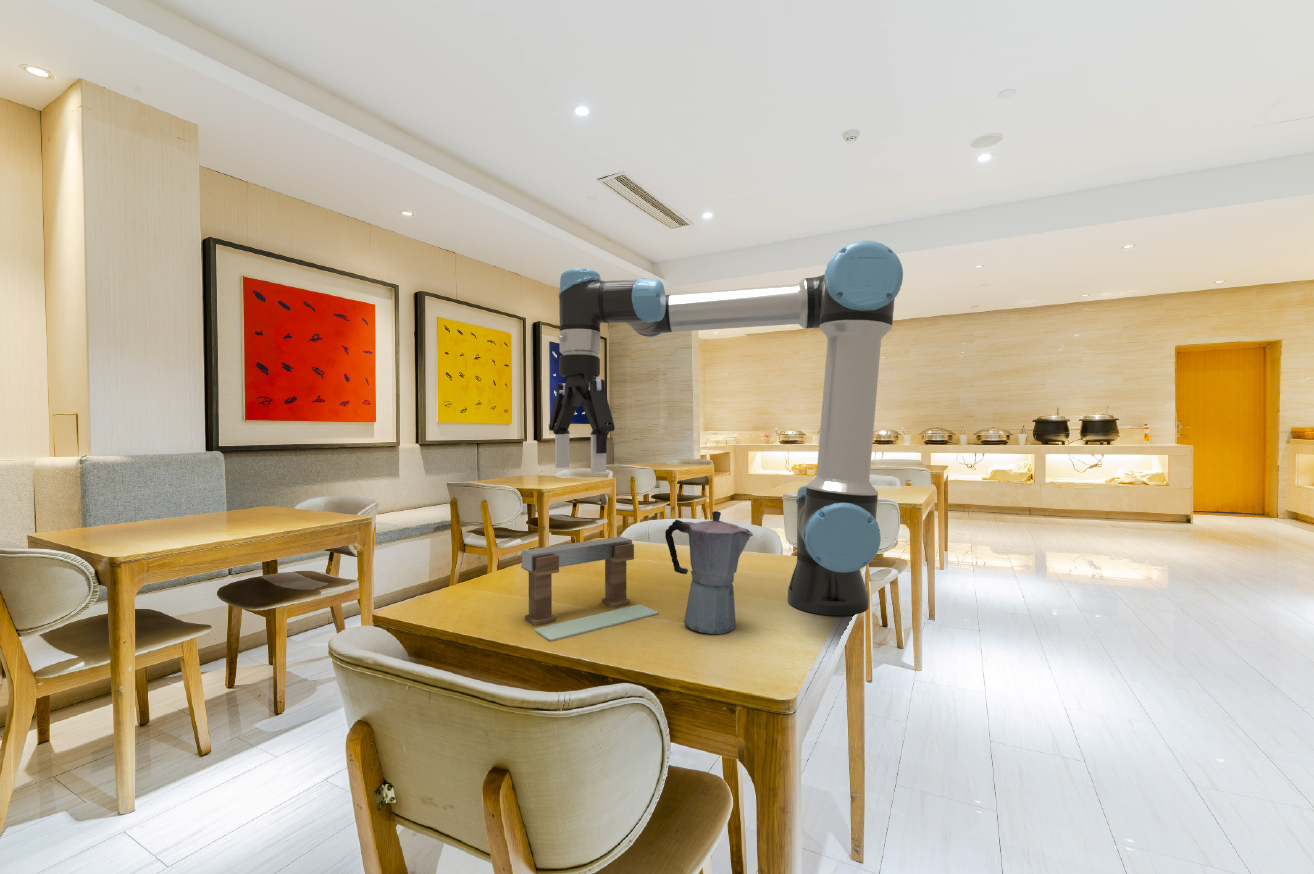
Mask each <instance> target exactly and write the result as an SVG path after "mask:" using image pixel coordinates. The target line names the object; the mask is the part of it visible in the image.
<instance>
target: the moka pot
mask: <svg viewBox="0 0 1314 874" xmlns="http://www.w3.org/2000/svg"><path fill="white" fill-rule="evenodd" d="M711 513H712V515H711V516H712V520H705V521H698V522H693V521H683V520H679V519H674V521H672V522H671V523H672V524H670V525H669V526H668V528H667V529H666V530H665V532H664V533H665V534H664V535H665V541H666V543H667V546H668V551H669V553H670V554H669V555H670V558H671V563H672V566H673V570H674V572H675V573H679V574H682V575H687V574H688V572H689V569H688V568H686V567H685V568H684V567H681V566H680V561H679V560H678V554H677V553H678V552H677V549H676V545H675V541H674V537H673V533H674V532H675V531H679V532H680V533H684V534H688V542H689V543H688V544H689V545H688V546H689V556H690V557H689V558H690V566H691V569H692V570H691V571H690V573H691V579H692V580H691V583H690V588H689V592H688V598H687V604H686V609H685V613H684V621H683V622H684V625H685V626H687V627H688V628H689V629H690V630H693V631H695V632H697V633H702V634H711V635H722V634H723V635H724V634H727V633H728V634H729V633H730V632H732V631H733V630H735V628H736V625H737V624H736V622H737V620H736V608H735V590H734V585H733V583H734V580H735V577H734V576H735V574H736V573H737V572H738V571H737V570H738V564H739V559H740V557H741V555H742V553H743V552H744V550H745V547H746V546H747V543H748V541H749V539H750V538H751V537H752V536H754V533H753V532H752V531H750V530H749V529H747V528H744V527H741V526H739V525H737V524H733V523H729V522H725V521H722V520H720V519H721V515H722V512H721V511H716V510H715V511H712V512H711Z"/></svg>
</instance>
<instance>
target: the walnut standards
mask: <svg viewBox="0 0 1314 874" xmlns="http://www.w3.org/2000/svg"><path fill="white" fill-rule="evenodd" d="M633 560H635V544H634V543H632V544H625V545H619V546H614V558H612V559H606V560H604V597H603V598H601V603H602V604H603V605H605V606H608V607H609V608H611V609H614V608H619V607H623V606H627V605H631V600H630V599H629V598H627V561H628V562H629V561H633ZM521 569H523V570H525V571H527V572H528V614H525V615H524V620H525V621H526V622H528V623H529V624H531V625H532V626H534V627H537V626H542V625H545V624H549V623H550V624H551V623H553V622H556V616H555V615H553V614H552V613H553V611H552V608H553V606H552V604H553V603H552V596H553V595H552V593H553V592H552V589H553V588H552V575H553V574H556V573H557V574H558V573H560V567H559V556H558V555H552V556H545V557H539V558H536V571H534V572H531V571H529V570H527V569H525V568H523V567H522V566H521Z"/></svg>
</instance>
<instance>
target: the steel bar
mask: <svg viewBox="0 0 1314 874" xmlns="http://www.w3.org/2000/svg"><path fill="white" fill-rule="evenodd" d="M625 544H633V539H630V538H627V537H624V536H617V537H616V536H615V537H610V538H601V539H594V540H588V541H587V540H585V541H581V542H579V541H578V542H572V543H566V544H558V545H550V546H545V547H543V546H542V547H537V548H529V549H522V550H521V568H522V567H523V568H525V569H527V570H529V571H531V572H534V571H536V558H539V557H545V556H552V555H558V556H559V568H565V567H568V566H569V567H571V566H575V565H581V564H586V563H587V564H588V563H593V562H599V561H605V560H606V559H612V558H614V546H619V545H625ZM523 568H522V569H523ZM525 569H524V570H525ZM527 570H526V571H527ZM529 571H528V572H529Z"/></svg>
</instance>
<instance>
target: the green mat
mask: <svg viewBox="0 0 1314 874" xmlns="http://www.w3.org/2000/svg"><path fill="white" fill-rule="evenodd" d="M656 615H660V611H657V610H654V609H652V608H650V607H647V606H645V605H643V604H641V603H640V604H636V605H630V606H626V607H622V608H618V609H614V610H613V609H612V610H610V611H606V612H602V613H597V614H592V615H588V616H584V617H580V618H579V617H578V618H574V619H570V620H566V621H562V622H557V623H554V624H549V625H546V626H545V625H544V626H542V627H541V626H540V627H537V628H534V629H533V631H534V632H535V633H537V634H538V635H540V636H541V637H542V638H544V639H545V640H547V641H548V642H553V641H559V640H562V639H565V638H569V637H574V636H578V635H581V634H585V633H589V632H594V631H597V630H603V629H605V628H610V627H614V626H617V625H621V624H625V623H629V622H632V621H637V620H641V619H645V618H649V617H652V616H656Z"/></svg>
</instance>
